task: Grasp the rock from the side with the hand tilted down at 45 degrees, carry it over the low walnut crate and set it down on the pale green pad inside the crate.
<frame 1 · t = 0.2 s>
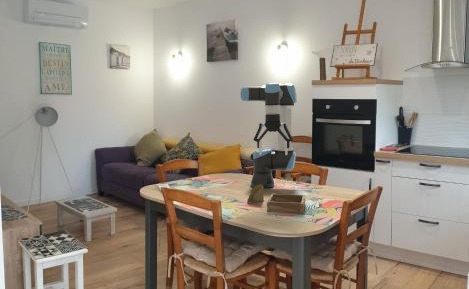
hand: (273, 154, 221), 28 cm above the table, tool pointing down, fingers open, 13 cm apart
crate: (286, 207, 221), on the table
rock: (255, 201, 235), on the table
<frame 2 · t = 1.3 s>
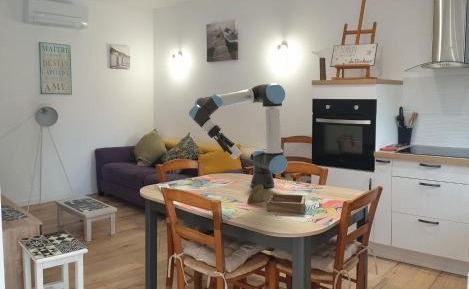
hand: (238, 156, 233), 25 cm above the table, tool tilted 45°, fingers open, 13 cm apart
nothing on the table moved.
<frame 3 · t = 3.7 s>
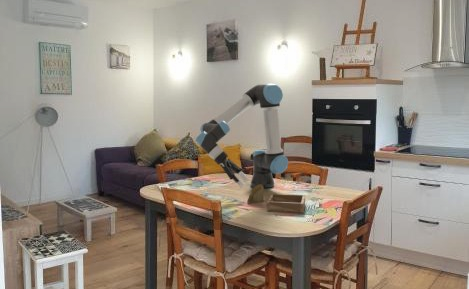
hand: (245, 183, 234), 10 cm above the table, tool tilted 45°, fingers open, 13 cm apart
nothing on the table moved.
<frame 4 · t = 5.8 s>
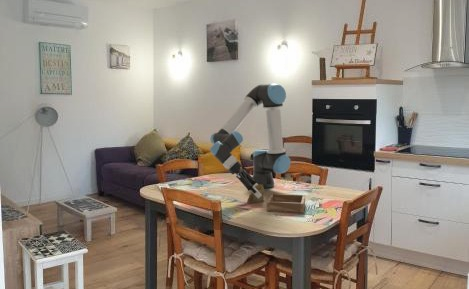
hand: (261, 194, 234), 4 cm above the table, tool tilted 45°, fingers closed on rock, 8 cm apart
rock: (255, 201, 235), on the table, touching gripper
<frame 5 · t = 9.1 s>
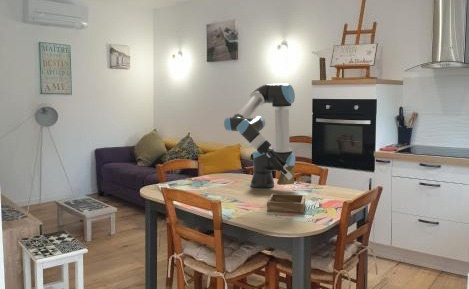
hand: (291, 176, 218), 17 cm above the table, tool tilted 45°, fingers closed on rock, 8 cm apart
rock: (285, 184, 219), point 12 cm above the table, touching gripper
when the fingers open (6 cm above the table, at t = 11.6 s): rock stays where it is, resting on crate.
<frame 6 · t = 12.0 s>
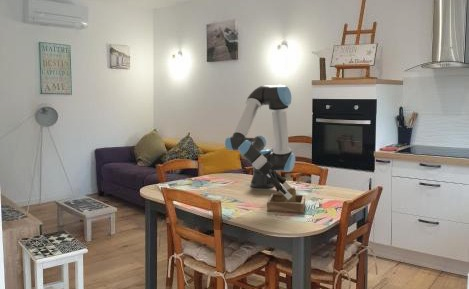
hand: (291, 195, 220), 7 cm above the table, tool tilted 45°, fingers open, 13 cm apart
rock: (286, 206, 221), point 1 cm above the table, touching crate
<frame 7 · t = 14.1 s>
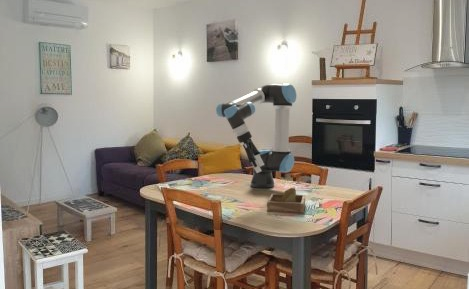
hand: (260, 168, 227), 19 cm above the table, tool tilted 25°, fingers open, 13 cm apart
nothing on the table moved.
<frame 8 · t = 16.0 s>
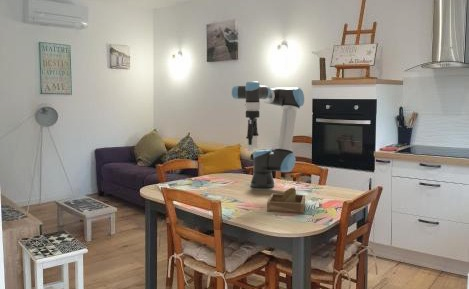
hand: (252, 149, 233), 29 cm above the table, tool pointing down, fingers open, 13 cm apart
nothing on the table moved.
at the end: rock inside the target area on the crate (0.3 cm from its centre), point 0.7 cm above the crate's base; rock tilted 2°; the gripper is holding nothing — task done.
